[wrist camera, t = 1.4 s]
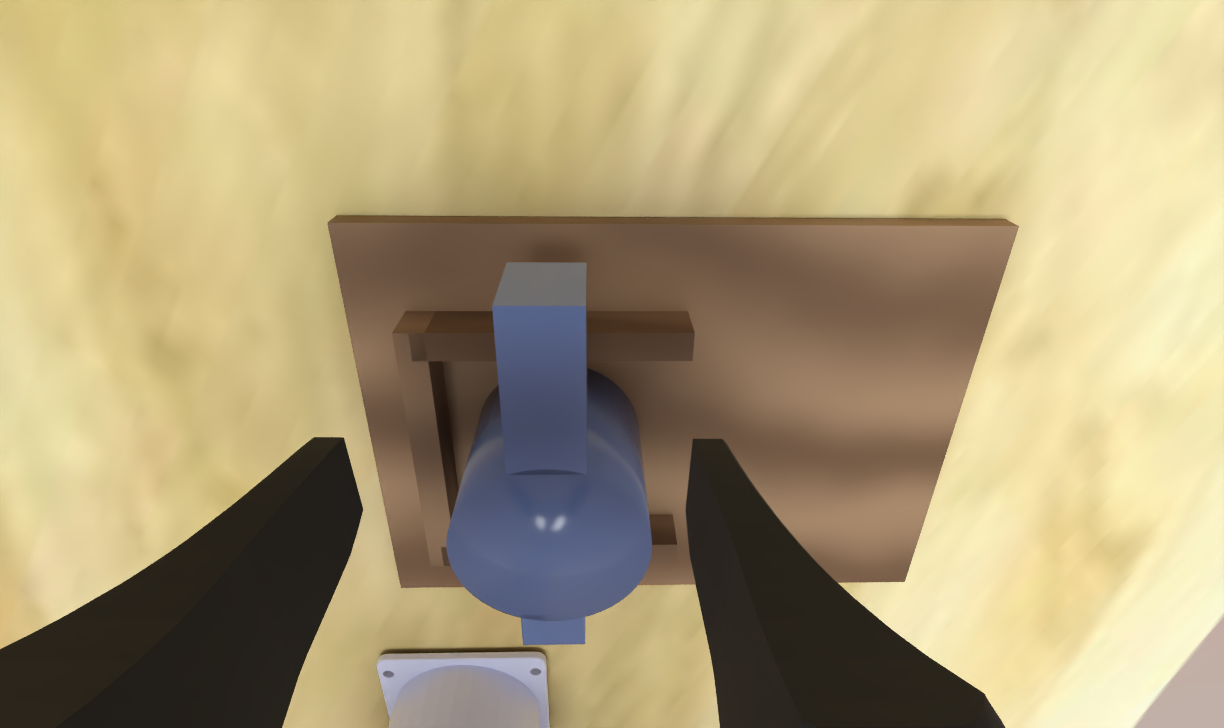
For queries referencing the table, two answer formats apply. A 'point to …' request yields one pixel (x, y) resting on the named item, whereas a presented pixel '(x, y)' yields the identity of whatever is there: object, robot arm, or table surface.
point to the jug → (550, 468)
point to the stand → (689, 362)
